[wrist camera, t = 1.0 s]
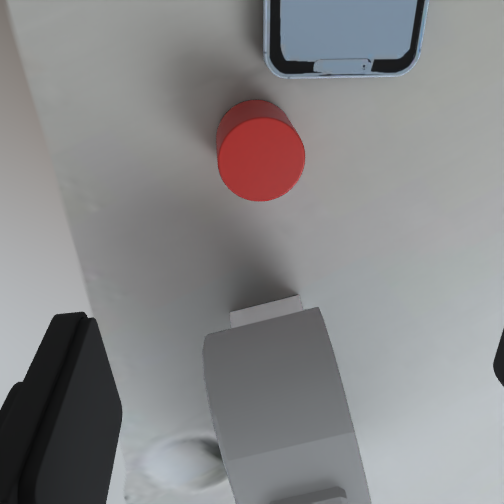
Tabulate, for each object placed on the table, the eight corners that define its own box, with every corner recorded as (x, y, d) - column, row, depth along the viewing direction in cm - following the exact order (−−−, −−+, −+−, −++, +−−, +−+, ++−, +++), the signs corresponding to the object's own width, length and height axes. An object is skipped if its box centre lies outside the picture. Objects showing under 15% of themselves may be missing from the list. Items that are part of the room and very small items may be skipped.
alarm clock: (201, 275, 27) (197, 470, 16) (299, 250, 27) (362, 432, 16) (279, 483, 39) (307, 675, 28) (348, 468, 39) (403, 656, 28)
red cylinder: (212, 102, 22) (213, 120, 19) (292, 96, 22) (305, 113, 19) (219, 178, 24) (221, 205, 21) (292, 172, 24) (305, 198, 21)
